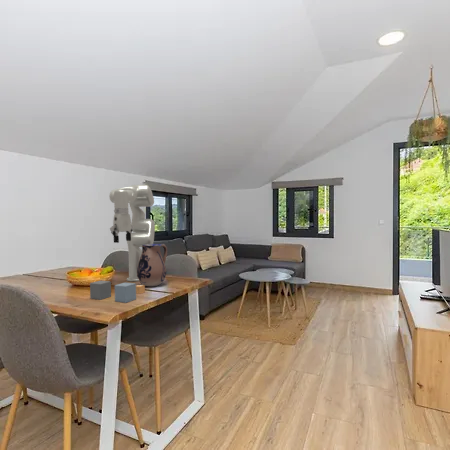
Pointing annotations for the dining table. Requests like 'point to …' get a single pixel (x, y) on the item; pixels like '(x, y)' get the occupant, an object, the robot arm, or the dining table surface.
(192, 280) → the dining table surface
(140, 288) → the letter block
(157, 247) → the ceramic pitcher
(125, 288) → the blue-gray block
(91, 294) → the dark grey block
